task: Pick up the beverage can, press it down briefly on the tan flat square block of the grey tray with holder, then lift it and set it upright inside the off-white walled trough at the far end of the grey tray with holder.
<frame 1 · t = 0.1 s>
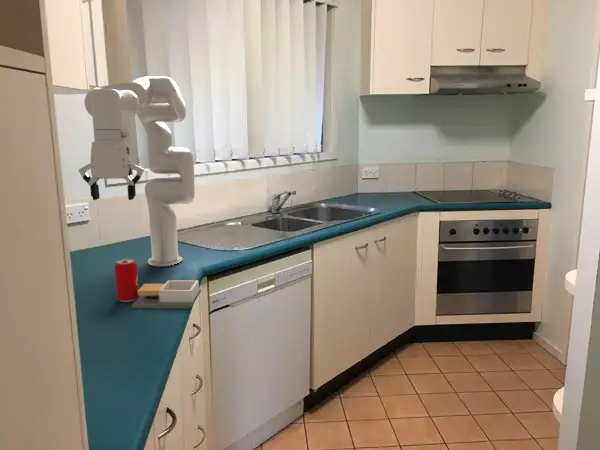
hand: (113, 199, 140), 31 cm above the worktop, fingers open, 9 cm apart
tan flat square block: (152, 291, 150), point 3 cm above the worktop, slide at -0.1 cm
grey tray with holder: (166, 299, 151), on the worktop
beverage can: (128, 300, 151), on the worktop
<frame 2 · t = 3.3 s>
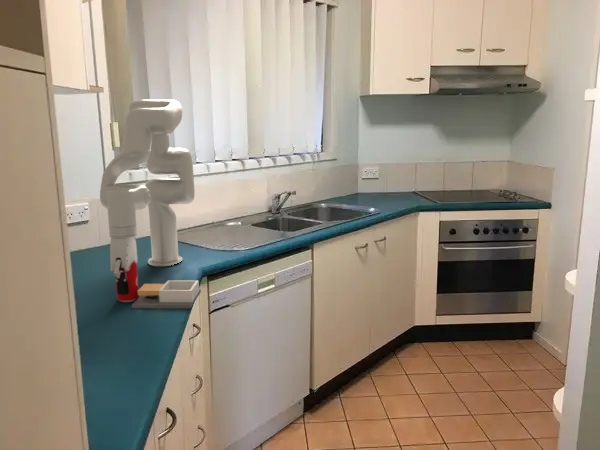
hand: (127, 289, 150), 3 cm above the worktop, fingers closed on beverage can, 6 cm apart
beverage can: (128, 300, 151), on the worktop, touching gripper
everything else where it was.
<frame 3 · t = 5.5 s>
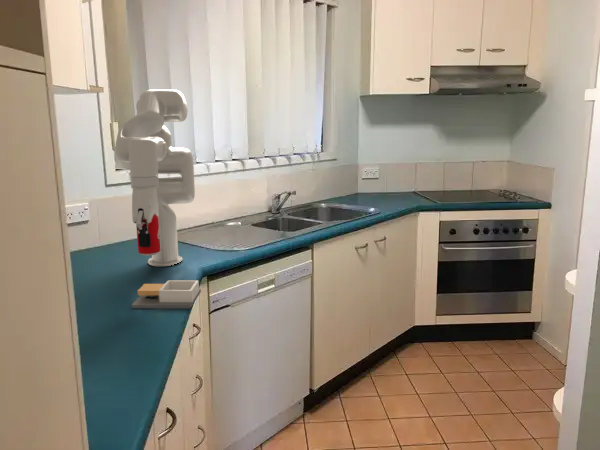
hand: (148, 243, 148), 17 cm above the worktop, fingers closed on beverage can, 6 cm apart
beverage can: (149, 254, 148), point 14 cm above the worktop, touching gripper
everything else where it was.
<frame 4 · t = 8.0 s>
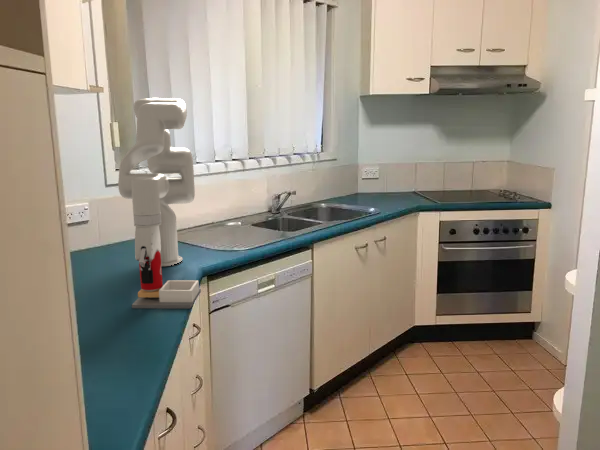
hand: (151, 278, 150), 6 cm above the worktop, fingers closed on beverage can, 6 cm apart
tan flat square block: (152, 293, 151), point 2 cm above the worktop, slide at -0.7 cm, touching beverage can
beverage can: (152, 289, 150), point 3 cm above the worktop, touching tan flat square block, gripper
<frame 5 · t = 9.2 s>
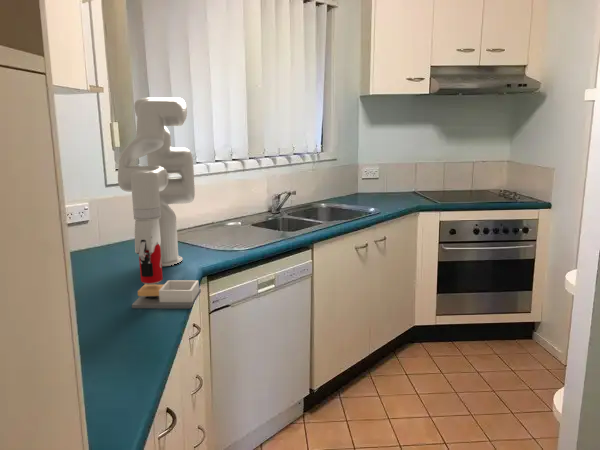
hand: (151, 271, 150), 8 cm above the worktop, fingers closed on beverage can, 6 cm apart
tan flat square block: (152, 291, 150), point 2 cm above the worktop, slide at -0.3 cm
beverage can: (152, 282, 151), point 5 cm above the worktop, touching gripper
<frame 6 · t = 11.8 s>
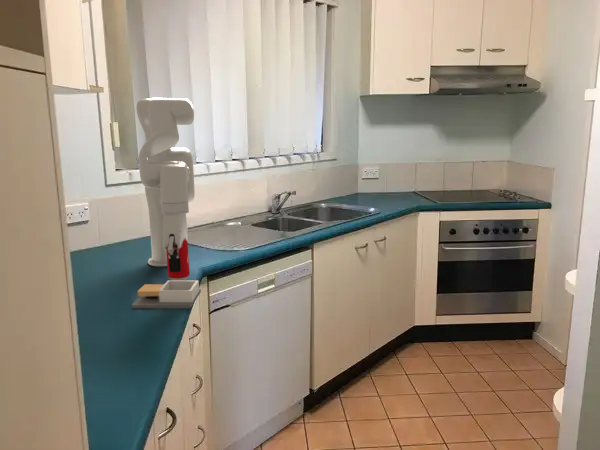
hand: (178, 267, 149), 10 cm above the worktop, fingers closed on beverage can, 6 cm apart
beverage can: (179, 278, 149), point 7 cm above the worktop, touching gripper
everything else where it was.
when the fingers open (6 cm above the worktop, at t = 13.4 s): beverage can drops 2 cm, resting on grey tray with holder.
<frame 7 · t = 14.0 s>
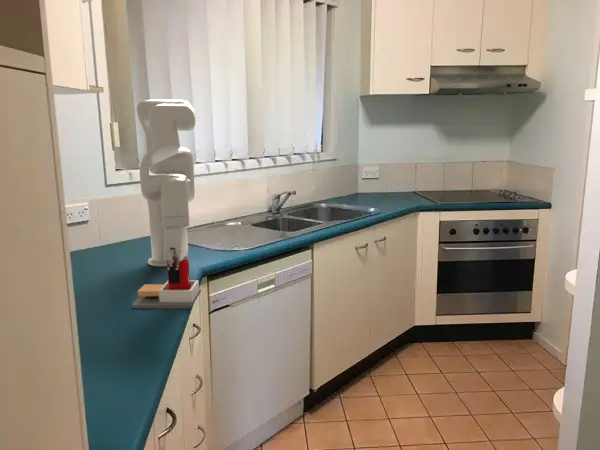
hand: (178, 277, 149), 7 cm above the worktop, fingers open, 9 cm apart
beverage can: (179, 297, 151), point 1 cm above the worktop, touching grey tray with holder
everything else where it was.
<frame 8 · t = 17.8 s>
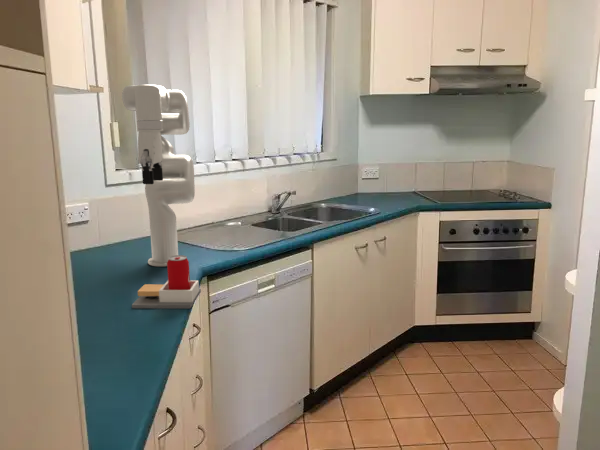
hand: (153, 182, 159), 33 cm above the worktop, fingers open, 9 cm apart
nothing on the worktop moved.
at the end: beverage can 0.1 cm from the target spot on the grey tray with holder, point 0.8 cm above the grey tray with holder's base; beverage can tilted 0°; the gripper is holding nothing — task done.
